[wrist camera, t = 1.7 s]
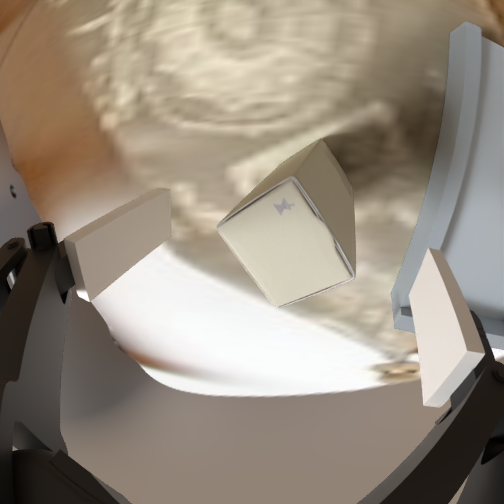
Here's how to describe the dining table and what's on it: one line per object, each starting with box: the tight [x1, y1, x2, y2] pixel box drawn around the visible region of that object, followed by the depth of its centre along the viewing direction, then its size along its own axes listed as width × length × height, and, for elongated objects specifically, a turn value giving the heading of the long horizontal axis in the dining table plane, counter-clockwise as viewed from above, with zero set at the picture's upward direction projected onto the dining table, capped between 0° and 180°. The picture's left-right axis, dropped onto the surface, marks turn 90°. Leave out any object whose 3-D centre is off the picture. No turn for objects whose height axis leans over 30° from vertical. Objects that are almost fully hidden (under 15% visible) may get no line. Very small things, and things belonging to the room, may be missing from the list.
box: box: [217, 139, 356, 308], centre depth 17 cm, size 5×4×13 cm
